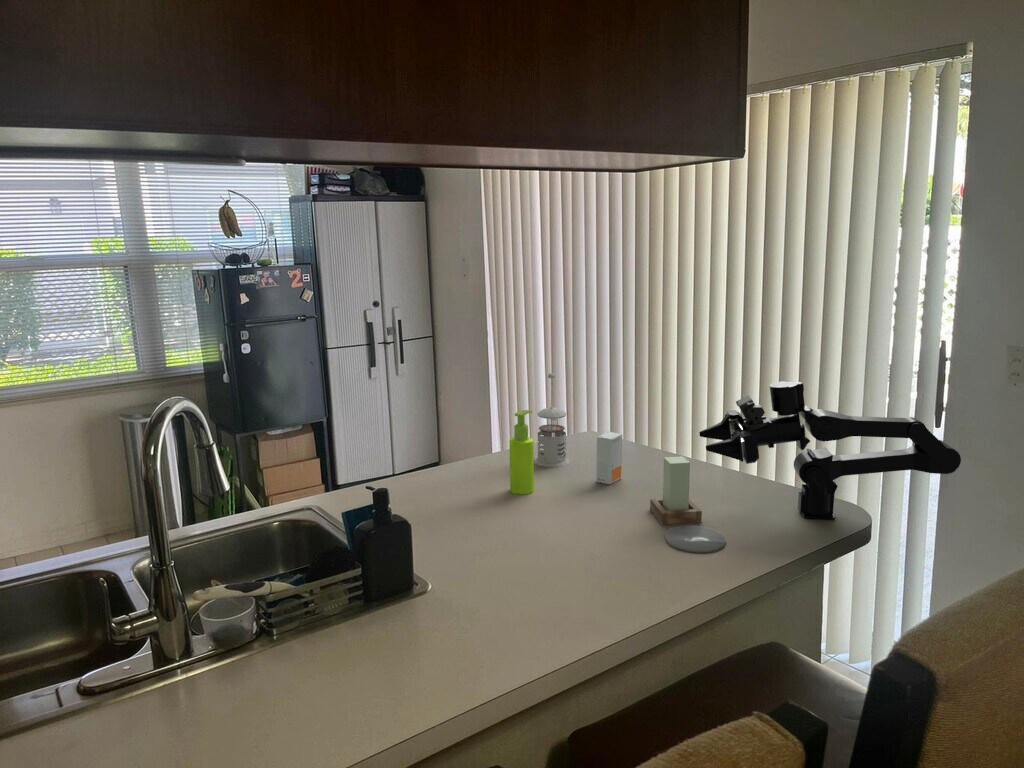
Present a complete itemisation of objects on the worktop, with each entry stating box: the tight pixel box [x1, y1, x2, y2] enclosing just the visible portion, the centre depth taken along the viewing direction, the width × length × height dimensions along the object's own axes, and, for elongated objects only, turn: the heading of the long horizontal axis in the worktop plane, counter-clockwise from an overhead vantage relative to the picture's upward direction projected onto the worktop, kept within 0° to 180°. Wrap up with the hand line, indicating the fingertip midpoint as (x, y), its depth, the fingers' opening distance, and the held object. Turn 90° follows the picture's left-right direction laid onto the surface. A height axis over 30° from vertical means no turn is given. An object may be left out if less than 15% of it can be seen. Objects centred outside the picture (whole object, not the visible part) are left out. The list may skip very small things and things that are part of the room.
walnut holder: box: [649, 497, 703, 525], centre depth 162 cm, size 9×9×2 cm
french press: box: [534, 372, 571, 468], centre depth 200 cm, size 10×12×25 cm
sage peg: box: [662, 455, 691, 511], centre depth 161 cm, size 4×4×13 cm
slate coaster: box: [664, 525, 726, 554], centre depth 149 cm, size 12×12×1 cm
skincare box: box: [595, 431, 623, 485], centre depth 184 cm, size 6×4×12 cm
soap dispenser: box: [508, 409, 535, 496], centre depth 178 cm, size 6×7×20 cm
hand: (702, 441), depth 161 cm, fingers open, 9 cm apart
